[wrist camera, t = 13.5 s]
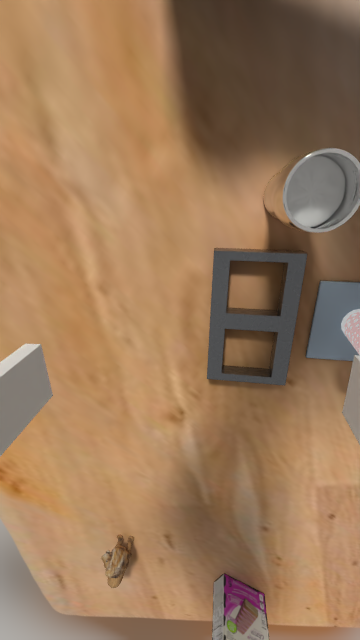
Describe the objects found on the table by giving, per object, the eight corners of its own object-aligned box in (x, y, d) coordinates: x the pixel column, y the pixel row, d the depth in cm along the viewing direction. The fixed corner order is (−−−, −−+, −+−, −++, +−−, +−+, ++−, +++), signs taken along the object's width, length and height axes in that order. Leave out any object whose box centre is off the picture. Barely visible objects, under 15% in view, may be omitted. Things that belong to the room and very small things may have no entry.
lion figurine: (111, 522, 67) (96, 567, 59) (135, 526, 67) (122, 572, 59) (113, 563, 73) (99, 609, 65) (135, 567, 72) (123, 614, 64)
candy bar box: (265, 592, 69) (277, 701, 54) (253, 601, 71) (261, 710, 56) (223, 571, 69) (224, 676, 53) (212, 581, 70) (209, 685, 55)
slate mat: (320, 280, 42) (321, 281, 42) (412, 284, 41) (414, 285, 40) (305, 356, 47) (306, 357, 46) (388, 362, 45) (390, 363, 45)
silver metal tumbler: (327, 195, 38) (386, 191, 25) (282, 234, 41) (313, 251, 27) (292, 152, 37) (334, 123, 23) (248, 195, 40) (262, 192, 26)
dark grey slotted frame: (214, 248, 43) (214, 250, 40) (302, 251, 41) (307, 253, 39) (207, 370, 50) (206, 378, 48) (282, 376, 49) (285, 385, 46)
